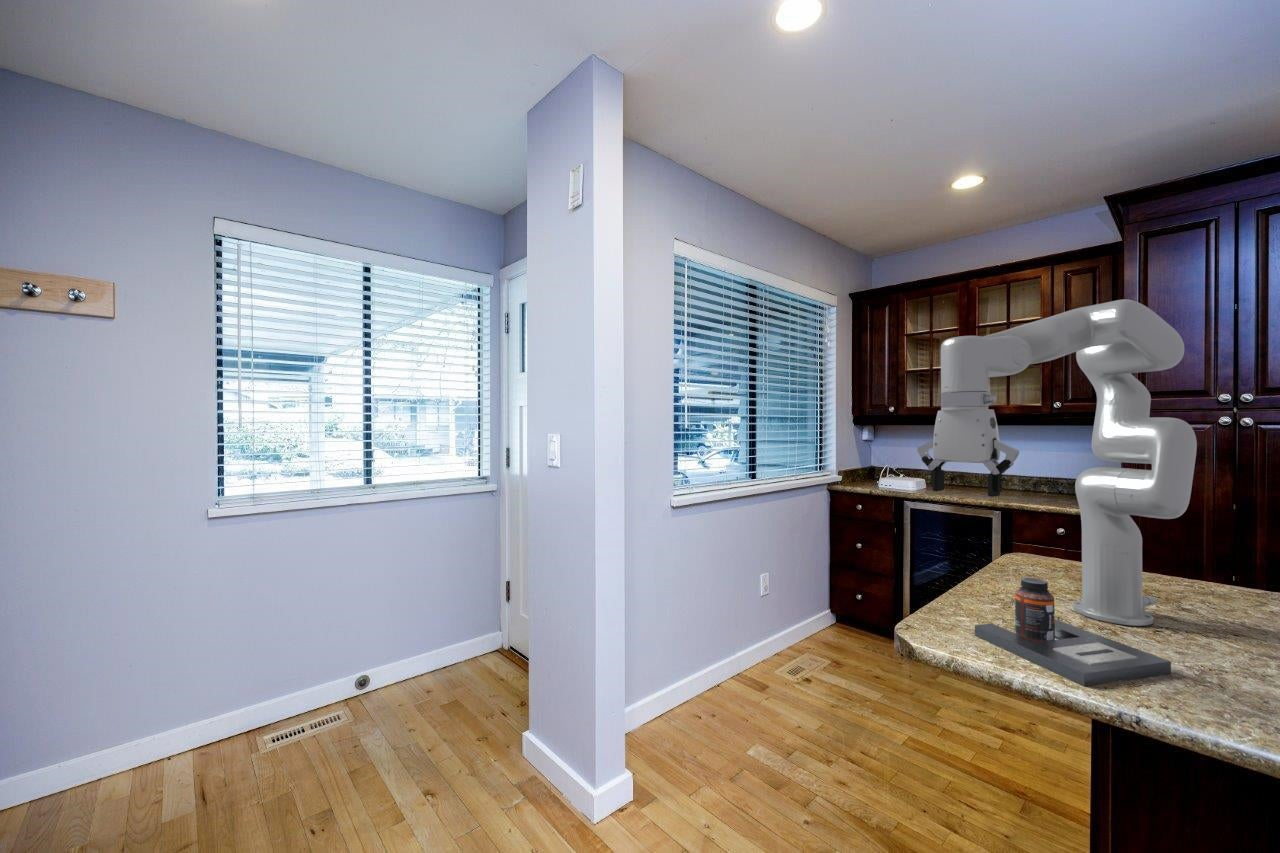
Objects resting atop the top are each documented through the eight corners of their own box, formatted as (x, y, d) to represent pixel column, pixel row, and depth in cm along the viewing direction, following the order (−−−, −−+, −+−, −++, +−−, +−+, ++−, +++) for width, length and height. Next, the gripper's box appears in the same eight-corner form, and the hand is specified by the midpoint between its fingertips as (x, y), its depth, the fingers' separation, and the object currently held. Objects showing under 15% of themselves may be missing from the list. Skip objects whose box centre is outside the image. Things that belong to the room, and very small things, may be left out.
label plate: (1049, 627, 103) (1049, 615, 103) (1171, 673, 84) (1170, 659, 84) (974, 635, 99) (974, 623, 99) (1084, 686, 80) (1083, 671, 80)
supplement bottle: (1062, 647, 93) (1061, 585, 93) (1025, 645, 95) (1025, 584, 95) (1043, 634, 99) (1043, 576, 99) (1009, 632, 100) (1008, 575, 100)
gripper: (1026, 400, 91) (1027, 496, 91) (927, 404, 106) (928, 487, 106) (1008, 399, 87) (1009, 500, 87) (908, 404, 102) (908, 490, 102)
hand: (965, 493), depth 96 cm, fingers open, 9 cm apart
